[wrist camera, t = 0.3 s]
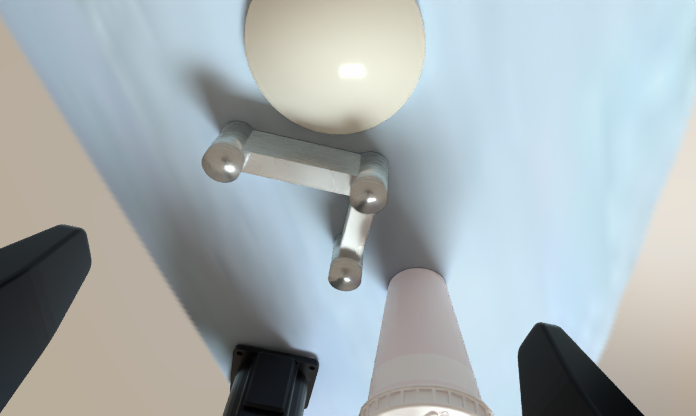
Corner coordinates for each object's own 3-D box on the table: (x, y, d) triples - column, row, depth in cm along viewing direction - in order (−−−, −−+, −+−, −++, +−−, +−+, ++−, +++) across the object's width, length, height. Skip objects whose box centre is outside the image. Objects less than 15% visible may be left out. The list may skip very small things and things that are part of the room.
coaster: (397, 146, 22) (396, 150, 22) (241, 110, 22) (239, 113, 21) (450, -27, 17) (452, -26, 17) (254, -77, 17) (251, -77, 17)
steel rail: (360, 257, 27) (357, 293, 24) (218, 227, 26) (200, 260, 24) (392, 156, 22) (391, 187, 20) (223, 117, 22) (201, 144, 20)
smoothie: (346, 283, 28) (314, 544, 17) (426, 234, 25) (453, 510, 14) (409, 334, 30) (418, 593, 19) (488, 295, 28) (555, 573, 16)
